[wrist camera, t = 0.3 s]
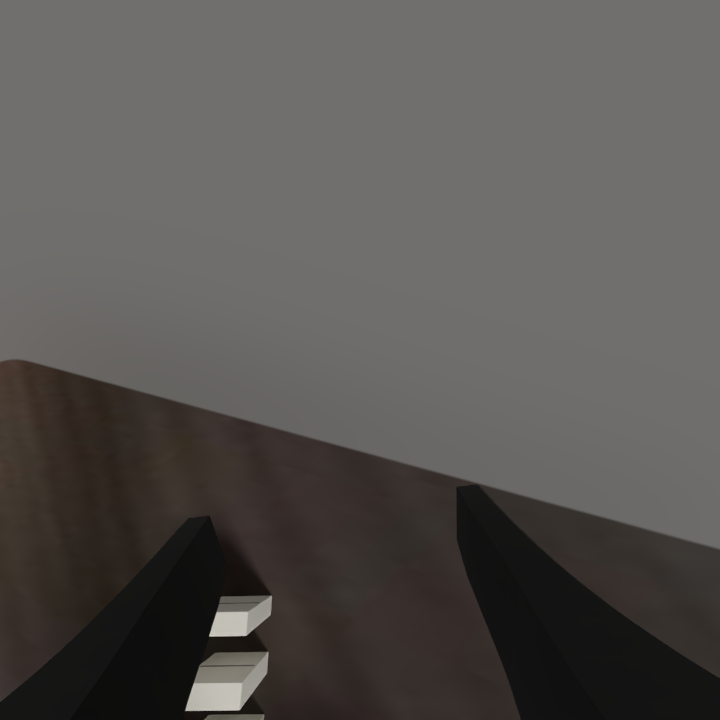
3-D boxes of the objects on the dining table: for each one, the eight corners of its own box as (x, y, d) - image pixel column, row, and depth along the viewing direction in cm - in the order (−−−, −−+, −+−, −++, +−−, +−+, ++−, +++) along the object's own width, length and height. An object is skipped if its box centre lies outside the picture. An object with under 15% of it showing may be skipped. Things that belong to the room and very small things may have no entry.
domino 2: (266, 673, 34) (239, 710, 27) (213, 674, 34) (172, 711, 27) (268, 651, 35) (242, 682, 28) (215, 652, 35) (176, 683, 28)
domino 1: (270, 615, 36) (245, 636, 29) (219, 616, 36) (182, 637, 29) (271, 595, 37) (248, 611, 30) (221, 596, 37) (186, 612, 30)
